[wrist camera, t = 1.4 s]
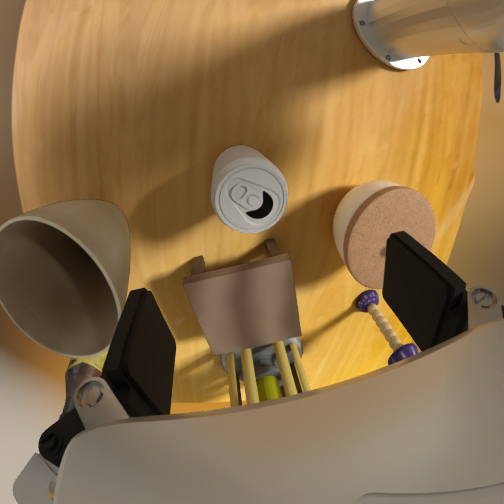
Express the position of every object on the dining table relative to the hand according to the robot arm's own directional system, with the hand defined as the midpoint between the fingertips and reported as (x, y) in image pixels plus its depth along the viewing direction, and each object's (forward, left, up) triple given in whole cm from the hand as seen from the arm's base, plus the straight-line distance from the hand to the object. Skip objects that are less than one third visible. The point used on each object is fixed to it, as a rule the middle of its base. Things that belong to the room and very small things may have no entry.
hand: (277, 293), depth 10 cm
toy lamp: (-16, +25, -25) cm, 39 cm away
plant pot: (+19, +2, -25) cm, 31 cm away
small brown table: (+3, +15, -24) cm, 29 cm away
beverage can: (0, 0, -25) cm, 25 cm away
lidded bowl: (-15, +9, -25) cm, 30 cm away
